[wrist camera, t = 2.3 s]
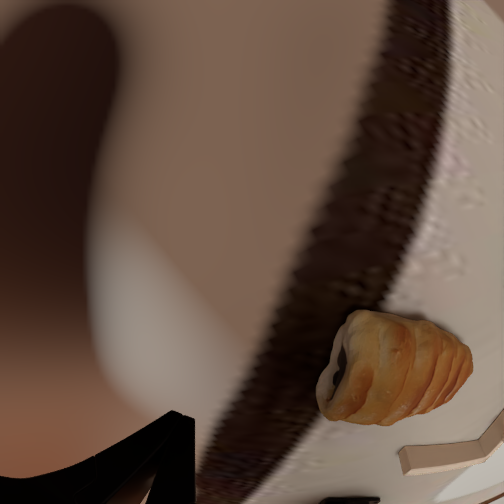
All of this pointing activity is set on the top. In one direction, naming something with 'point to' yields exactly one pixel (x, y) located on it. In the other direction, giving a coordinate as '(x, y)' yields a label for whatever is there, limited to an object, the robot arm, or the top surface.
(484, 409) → the top surface
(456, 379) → the pastry
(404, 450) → the frame
